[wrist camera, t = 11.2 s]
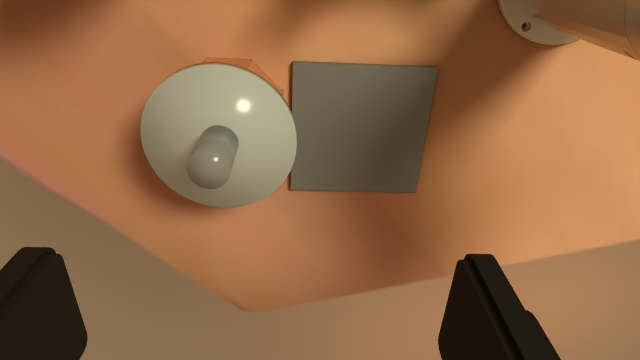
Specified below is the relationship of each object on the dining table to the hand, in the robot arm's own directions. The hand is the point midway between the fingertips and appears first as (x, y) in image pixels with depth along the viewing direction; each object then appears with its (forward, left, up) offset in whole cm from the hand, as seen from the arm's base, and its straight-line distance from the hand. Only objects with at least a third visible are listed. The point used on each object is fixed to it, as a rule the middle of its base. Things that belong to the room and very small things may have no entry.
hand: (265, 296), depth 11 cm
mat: (-7, +10, -34) cm, 36 cm away
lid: (+6, +8, -27) cm, 29 cm away
